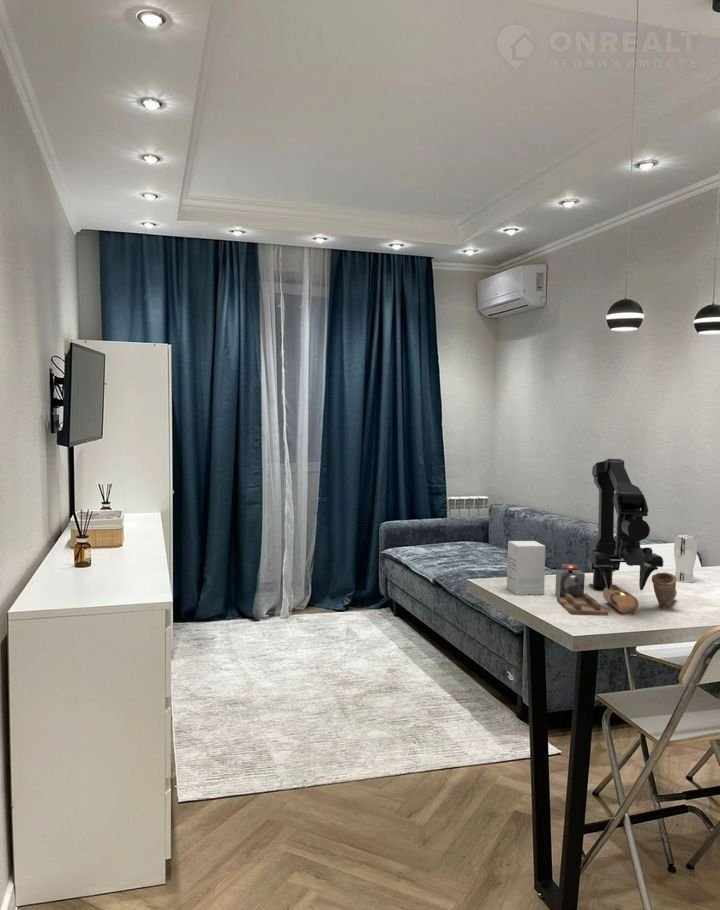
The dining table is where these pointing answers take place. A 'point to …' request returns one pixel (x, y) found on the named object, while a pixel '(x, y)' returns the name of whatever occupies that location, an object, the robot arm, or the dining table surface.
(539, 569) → the supplement box
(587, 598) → the pipe cradle
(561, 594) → the valve block
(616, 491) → the robot arm
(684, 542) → the beer glass
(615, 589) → the tan rounded oblong piece
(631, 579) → the dining table surface
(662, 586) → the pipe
